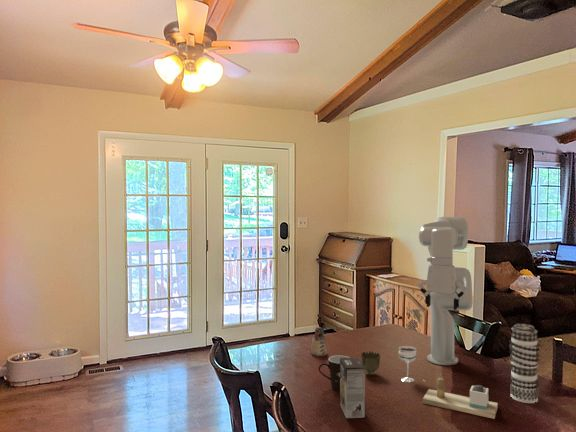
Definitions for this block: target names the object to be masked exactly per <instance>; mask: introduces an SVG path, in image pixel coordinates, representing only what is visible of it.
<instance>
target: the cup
mask: <svg viewBox="0 0 576 432" xmlns="http://www.w3.org/2000/svg"><path fill="white" fill-rule="evenodd" d="M360 355H361V363H362V364H363V365H364V367H365V375H368V376H370V377H371V376H376V374H377V373H376V371H378V369H379V367H380V361H381V360H380V359H381V354H380V353H379V352H377V351H375V352H374V351H366V352H365V351H363V352H361V354H360Z"/></svg>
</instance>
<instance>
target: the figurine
mask: <svg viewBox="0 0 576 432" xmlns="http://www.w3.org/2000/svg"><path fill="white" fill-rule="evenodd" d="M314 331H315V332H314V333H315V335H314V336H313V337H312V340H311V346H310V347H311V349H310V352H311V355H312V356H316V357H323V356H327V353H328V348H327V342H326V336H325V333H324V331H325V330H324V328H322V327H320V326H318V327H315V329H314Z"/></svg>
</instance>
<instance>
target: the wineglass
mask: <svg viewBox="0 0 576 432" xmlns="http://www.w3.org/2000/svg"><path fill="white" fill-rule="evenodd" d="M417 353H418V352H417V347H415V346H413V345H412V346H411V345H401V346H398V358H400V359H401V361H403V362H405V363H406V376H403V377H401V378H400V380H401V381H402V382H405V383H413V382H415V379H414V378H413V377H409V368H410V367H409V364H410V363H411V362H412V363H413V362H414V361H415V360H416V358H417V356H418V354H417Z"/></svg>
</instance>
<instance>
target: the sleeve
mask: <svg viewBox="0 0 576 432" xmlns="http://www.w3.org/2000/svg"><path fill="white" fill-rule="evenodd" d="M469 397H470V403H469V406H471V407H475V408H480V409H485V410H487V407H488V404H489V388H488V387H483V393H482V392H477V391H475V385H471V387H470V389H469Z"/></svg>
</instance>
